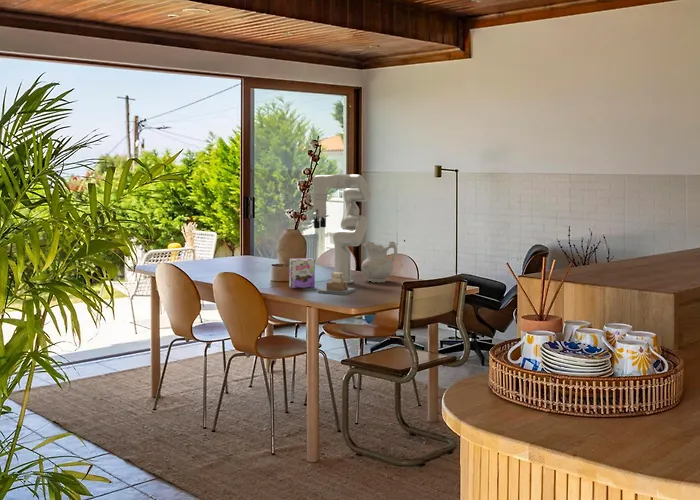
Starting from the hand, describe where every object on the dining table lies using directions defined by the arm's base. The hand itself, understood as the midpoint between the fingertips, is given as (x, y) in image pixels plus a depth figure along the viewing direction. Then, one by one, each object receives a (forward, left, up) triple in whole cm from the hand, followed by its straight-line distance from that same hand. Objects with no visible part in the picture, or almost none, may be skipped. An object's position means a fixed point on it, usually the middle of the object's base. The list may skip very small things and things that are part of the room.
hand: (319, 227), depth 475 cm
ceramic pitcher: (-41, +23, -34) cm, 58 cm away
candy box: (+2, -10, -35) cm, 36 cm away
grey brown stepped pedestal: (+12, +15, -34) cm, 39 cm away
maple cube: (+12, +15, -29) cm, 35 cm away
